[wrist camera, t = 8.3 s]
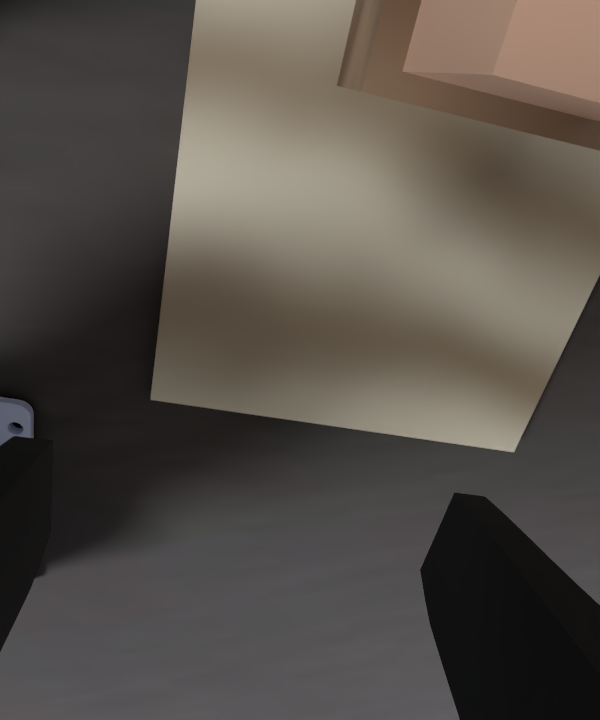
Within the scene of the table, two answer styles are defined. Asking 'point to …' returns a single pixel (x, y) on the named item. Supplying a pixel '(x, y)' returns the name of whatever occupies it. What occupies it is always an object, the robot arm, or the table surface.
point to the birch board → (362, 243)
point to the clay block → (513, 50)
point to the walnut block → (385, 79)
